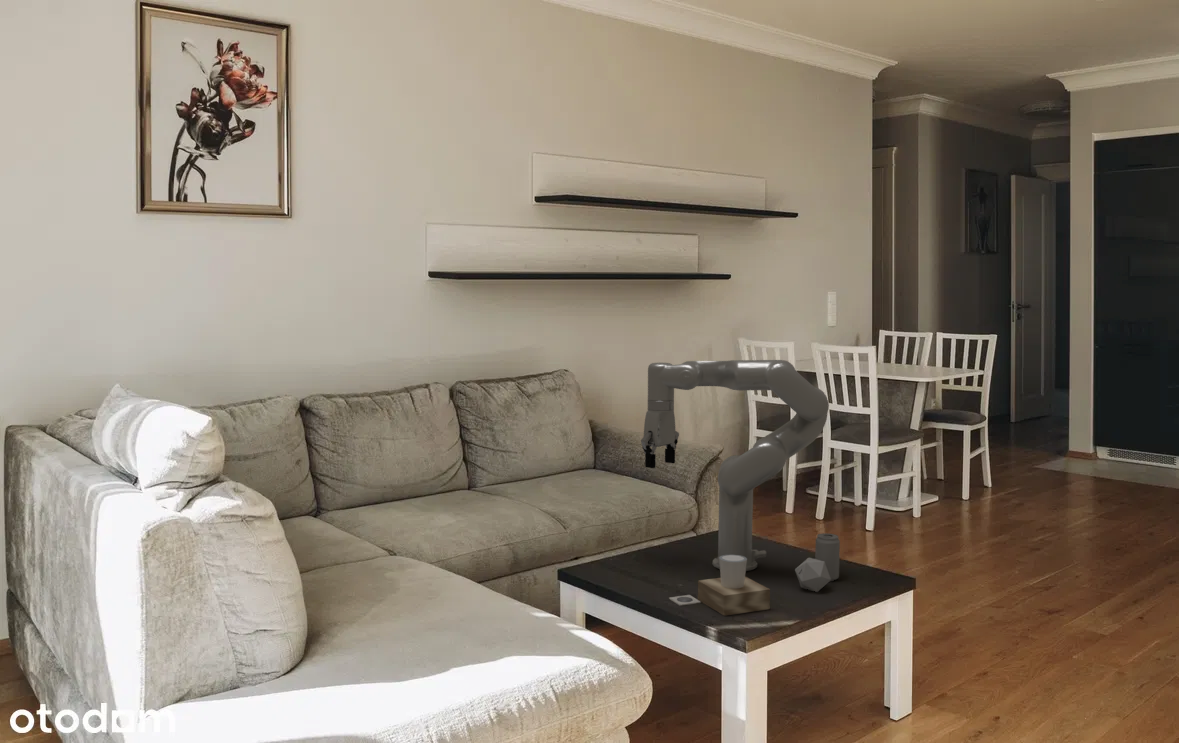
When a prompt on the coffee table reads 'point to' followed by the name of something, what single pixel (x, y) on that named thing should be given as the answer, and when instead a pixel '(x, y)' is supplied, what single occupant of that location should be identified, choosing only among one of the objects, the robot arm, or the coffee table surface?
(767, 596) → the oak block
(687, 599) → the tile
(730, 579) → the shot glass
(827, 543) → the beverage can
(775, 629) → the coffee table surface
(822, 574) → the die
